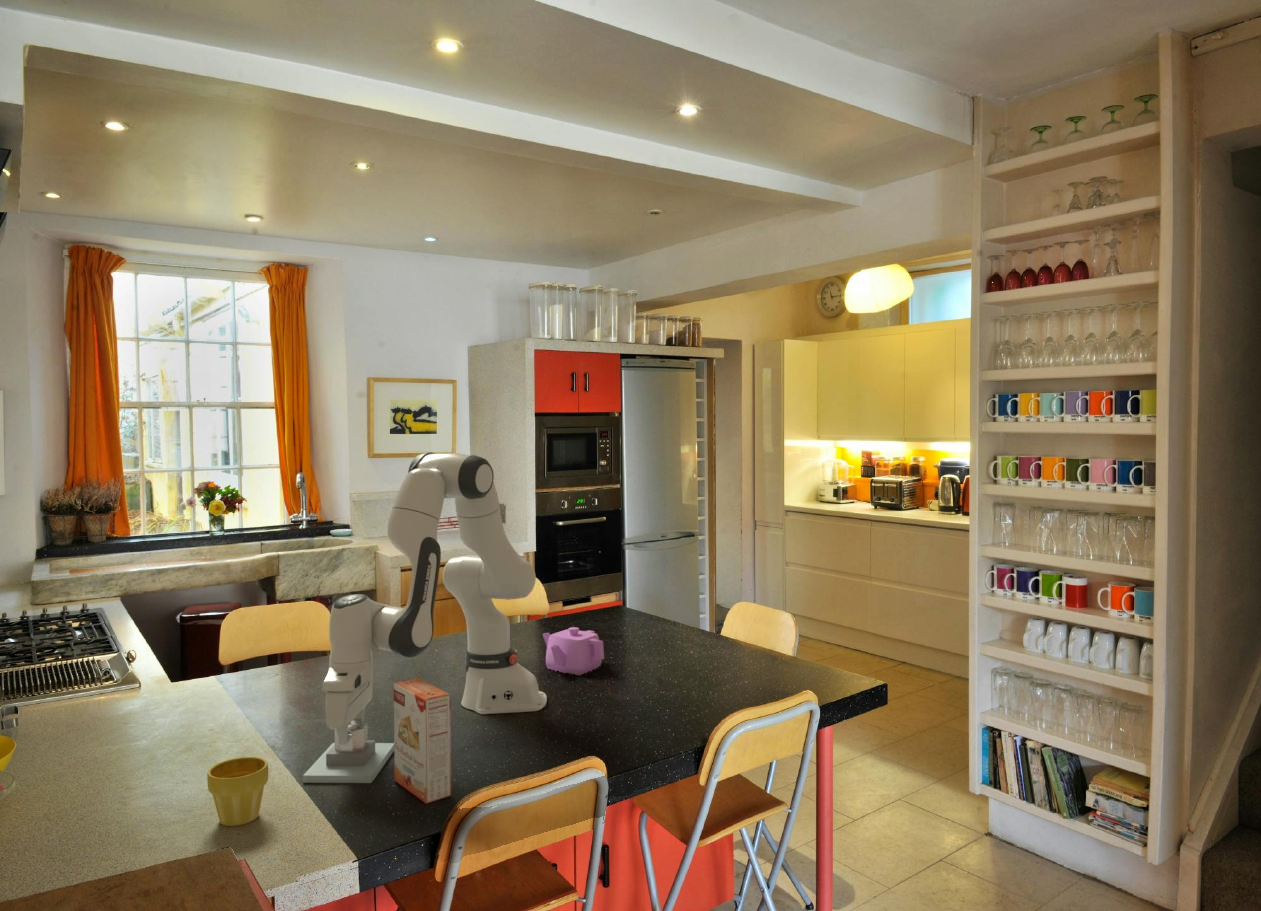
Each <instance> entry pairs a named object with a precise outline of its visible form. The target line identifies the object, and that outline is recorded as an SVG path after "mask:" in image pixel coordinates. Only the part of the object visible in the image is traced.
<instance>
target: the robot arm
mask: <svg viewBox="0 0 1261 911" xmlns="http://www.w3.org/2000/svg"><path fill="white" fill-rule="evenodd" d="M407 471H408V472H407V474H406V475H405V477H404V479H403V481H402V483H401V485H400V487H399V490H398V492H397V494H396V496H395V498H394V502H393V505H392V508H391V510H390V511H391V512H390V514H389V518H388V522H387V529H386V530H387V531H386V533H387V536H388V538H389V540H390V542H391V544H392V545H393V546H394V548H395V549H397V551H399V552H400V553H401V554H403V555H404V557H406V558H407V559H408V561H409V562H410V565H411V579H410V585H409V590H408V597H407V602H406V605H405V606H404V607H400V606H394V605H389V604H385V603H381V602H377V601H374V600H373V599H371V598H369V596H368V595H366V594H361V593H354V594H349V595H348V594H347V595H345V596H341V597H339V598H338V599H336V601H334V602H333V604H332V606H331V610H330V613H329V614H330V615H329V624H328V625H329V626H328V640H329V643H330V654H329V657H328V659H329V660H328V662H329V663H328V666H329V667H328V669H327V670H328V671H327V674H326V676H325V678H324V680H323V682H322V691H323V692H326V694H325V701H324V702H325V705H324V706H325V721H326V725H327V728H328V729H329V730H335V729H336V731H337V734H338V736H339V744H340V745H346V744H347V743H348V742H349V734H348V729H347V728H348V725H349V723H350V722H351V721H362V722H364V717H365V711H366V706H367V705H368V704H369V702H371V701H372V699H373V694H374V693H373V650H374V649H380V650H383V651H388V652H391V653H392V652H393V653H395V654H397V655H401V656H403V657H406V658H413V657H417V656H418V655H420V654H422V653H423V652H424V651H425V650H426V649H427V648H428V646H429V645H430V643H431V642H432V641H433V640H432V639H433V638H434V637H433V636H434V630H435V628H434V627H435V623H434V614H435V613H434V610H435V604H436V598H437V597H436V596H437V590H438V582H439V576H440V569H441V560H442V559H441V558H442V555H441V554H442V552H441V551H442V550H441V545H440V543H439V541H438V526H439V523H440V520H441V515H442V510H443V505H444V500H445V499H454V503H455V504H454V506H455V512H456V517H457V525H458V531H459V536H460V539H461V542H462V543H463V544H464V545H465V546H466V547H467V548H468V549H470V550H472V551H473V552H474V553H475V554H466V555H459V556H453V557H451V558H450V559H449V560H448V561H446V563H445V565H444V568H443V570H442V581H443V586H444V588H445V589H446V590H447V591H448V592H449V593H450V594H451V595H452V596H453V597H454V598H455V599H456V601H457V602H458V604H459V605H460V608H461V610H462V612H463V615H464V617H465V623H466V634H467V635H466V636H467V649H466V651H465V660H464V663H465V667H464V668H465V672H466V677H465V685H464V691H463V695H462V699H461V702H460V704H461V706H462V707H463V708H464V709H467V710H470V711H471V710H472V711H474V712H476V713H477V714H479V715H489V714H491V715H492V714H508V713H525V712H537V711H540V710H542V709H543V708H544V707H546V706H547V702H548V697H547V694H546V693H545V692H544V691H542V690H540V689H539V683H538V681H537V677H536V676H535V675H534V674H533V673H532V672H530V671H529V670H528V669H526V668H525V667H523V666H522V664H519V663H518V649H512V648H511V641H510V640H511V638H510V637H511V636H510V634H511V632H510V631H511V630H510V628H511V627H510V626H511V624H510V619H509V618H508V617H507V615H506V614H505V613H504V612H502V611H501V610H499V609H498V608H497V607H496V606H495V604H494V601H493V599H494V600H509V601H511V600H519V599H525V598H527V597H528V596H530V594H531V593H532V591H533V590H534V587H535V584H536V582H537V581H536V572H535V568H534V566H533V565H532V564H531V563H530V562H529V561H528V560H526V559H525V558H524V557H522V556H521V555H520V554H519V553H518V551H516V550H515V548H514V547H513V545H512V544H511V542H510V541H509V539H508V537H507V535H506V532H505V528H504V523H503V518H502V514H501V508H500V501H499V496H498V493H497V488H496V485H495V483H494V479H495V478H494V476H495V475H494V470H493V467H492V465H491V464H490V462H489V460H487V459H486V458H485V457H482V456H478V455H474V454H471V455H470V454H465V453H459V452H437V453H435V452H431V451H430V452H425V453H420V454H418V455H416V456H415V457H414V458H413V460H412V462H410V465H409V467H408V470H407Z"/></svg>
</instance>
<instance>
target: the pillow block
mask: <svg viewBox="0 0 1261 911" xmlns="http://www.w3.org/2000/svg"><path fill="white" fill-rule="evenodd" d="M347 729H356V725H348V728H347ZM393 754H394V742H376V740H375V739H374V740H371V739H367V746H366V747H365V748H364V749H363V750H359V751H356V752H339V751H337V750H336V749H335V742H332V743H331V744H330V745H329V746H328V747H327V749H326V750H325V751H324V752H323V753H322V754H321V756H320V757H318V759H317V760H316V761H315V762H314V763H313V764H312V765H311V766H310V767H309V768H308V769H307V771H306V772H305V773H304V774H303V775H302V783H305V784H307V783H309V784H315V783H316V784H317V783H319V784H333V783H334V784H372V783H373V781H374V780H375V778H376V777H377V776H378V774H379V773H380V771H381V770H382V769H383V768H384V766H385V765H386V763H387V761H388V760H390V757H391V756H392V755H393Z"/></svg>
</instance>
